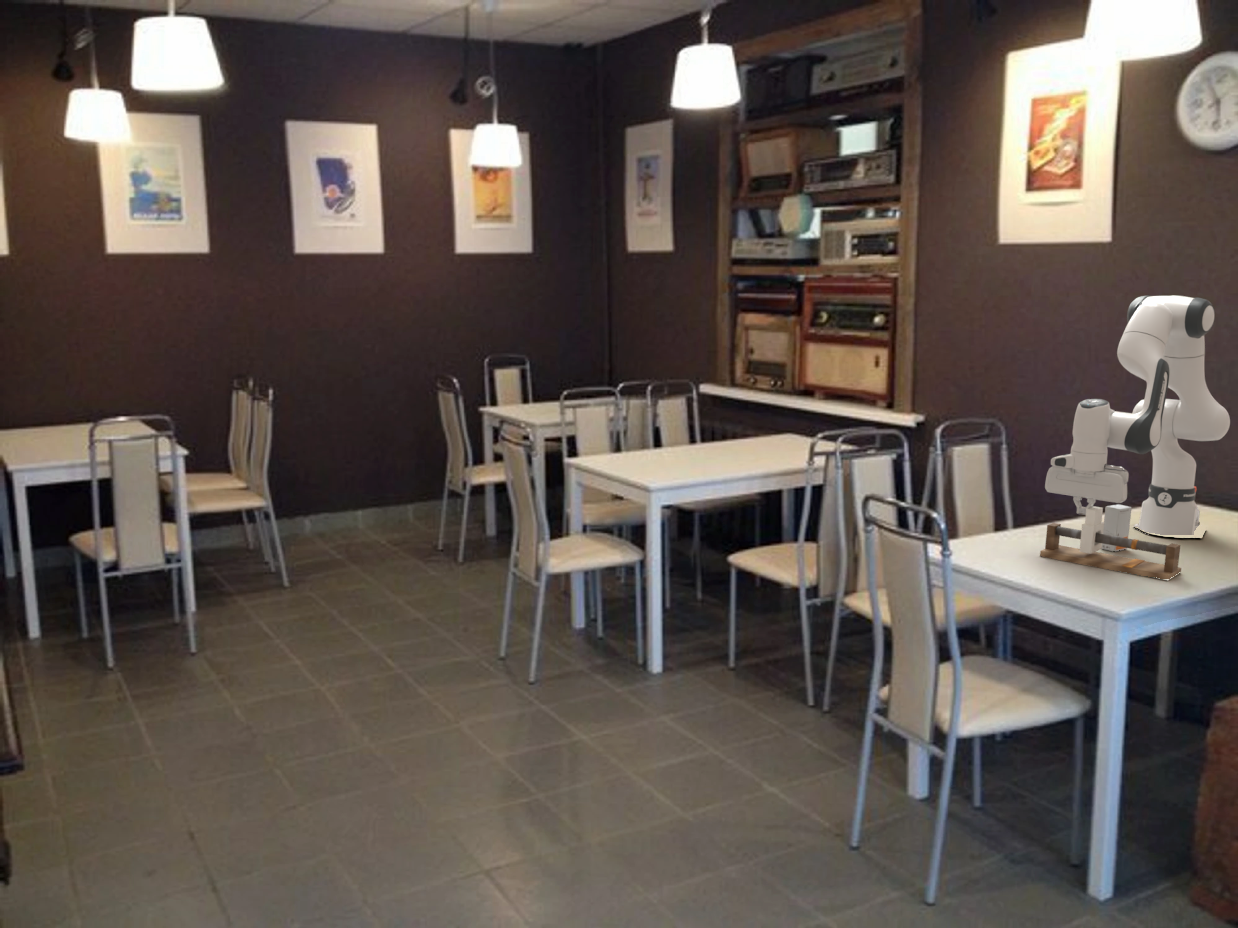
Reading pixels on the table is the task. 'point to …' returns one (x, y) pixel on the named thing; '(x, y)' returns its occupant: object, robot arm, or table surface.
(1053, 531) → the pipe stand
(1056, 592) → the table surface
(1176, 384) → the robot arm
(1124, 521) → the skincare box
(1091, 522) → the collar
